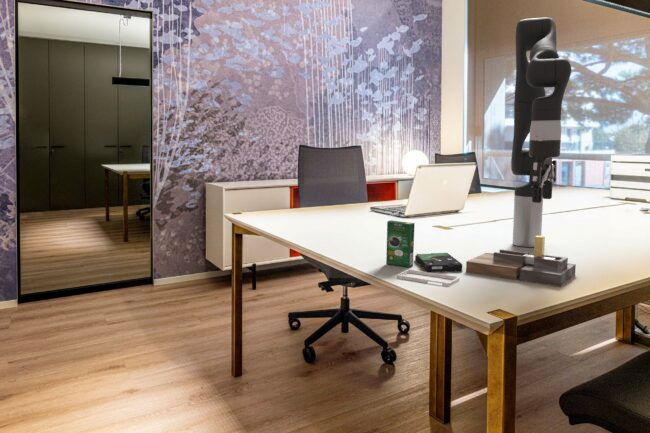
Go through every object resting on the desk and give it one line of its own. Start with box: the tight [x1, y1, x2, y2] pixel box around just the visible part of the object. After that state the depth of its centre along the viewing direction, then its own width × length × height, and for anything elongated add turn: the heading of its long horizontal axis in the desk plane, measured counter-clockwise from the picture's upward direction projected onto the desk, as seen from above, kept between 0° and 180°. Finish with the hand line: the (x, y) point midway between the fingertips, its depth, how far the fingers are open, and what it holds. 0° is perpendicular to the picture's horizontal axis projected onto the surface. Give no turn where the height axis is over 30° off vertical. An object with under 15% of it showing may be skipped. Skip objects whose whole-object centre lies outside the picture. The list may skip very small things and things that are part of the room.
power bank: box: [396, 269, 460, 287], centre depth 141 cm, size 7×1×15 cm
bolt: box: [523, 235, 556, 265], centre depth 141 cm, size 2×8×8 cm, turn 51°
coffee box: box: [385, 219, 415, 268], centre depth 156 cm, size 8×3×13 cm, turn 54°
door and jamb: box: [465, 248, 577, 288], centre depth 145 cm, size 14×25×6 cm, turn 51°
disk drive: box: [414, 252, 463, 273], centre depth 155 cm, size 10×3×15 cm
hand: (542, 200), depth 139 cm, fingers open, 8 cm apart
